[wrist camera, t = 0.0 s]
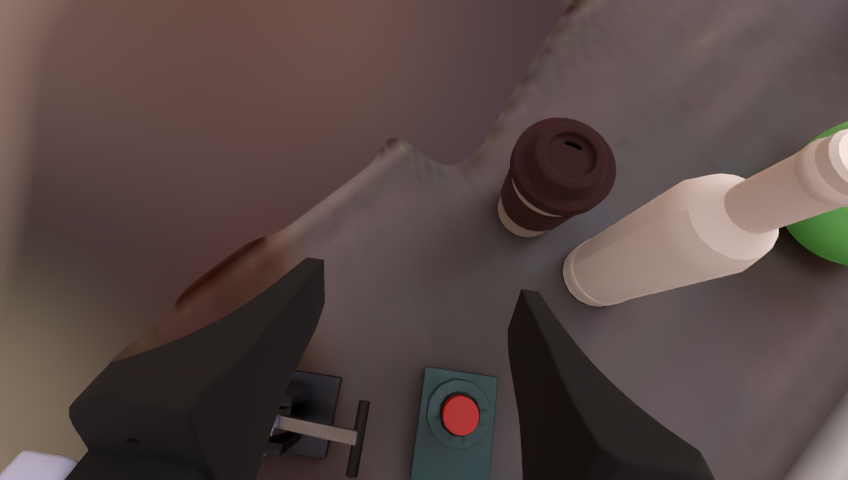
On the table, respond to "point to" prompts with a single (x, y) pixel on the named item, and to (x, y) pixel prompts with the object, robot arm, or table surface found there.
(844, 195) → the bottle
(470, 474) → the button box
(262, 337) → the robot arm
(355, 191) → the table surface
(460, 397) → the stop button
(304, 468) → the table surface
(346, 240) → the table surface
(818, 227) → the toy bird
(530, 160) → the coffee cup
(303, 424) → the lever
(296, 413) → the bracket
